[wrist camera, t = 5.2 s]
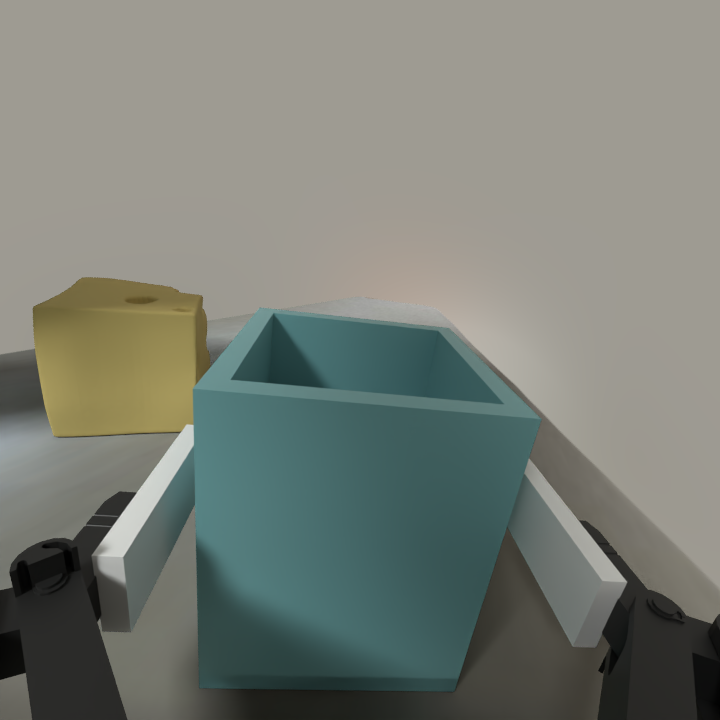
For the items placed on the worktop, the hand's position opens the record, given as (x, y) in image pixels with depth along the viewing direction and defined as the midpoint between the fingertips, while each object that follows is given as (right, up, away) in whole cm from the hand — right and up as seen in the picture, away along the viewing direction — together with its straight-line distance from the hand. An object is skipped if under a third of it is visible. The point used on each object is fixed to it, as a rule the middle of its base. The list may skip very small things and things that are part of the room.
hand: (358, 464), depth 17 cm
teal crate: (-1, -7, +3) cm, 7 cm away
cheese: (-19, 0, +17) cm, 25 cm away
